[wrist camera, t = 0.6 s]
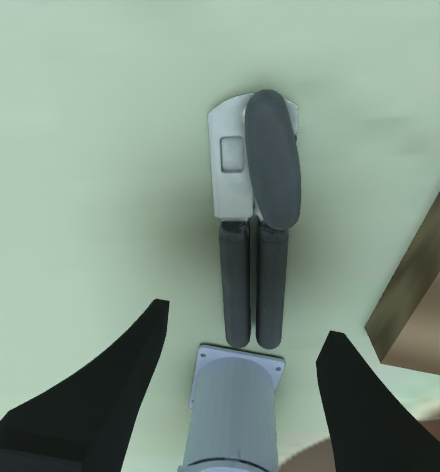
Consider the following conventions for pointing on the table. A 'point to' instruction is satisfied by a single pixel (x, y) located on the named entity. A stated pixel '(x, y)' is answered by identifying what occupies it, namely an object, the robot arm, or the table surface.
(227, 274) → the can opener
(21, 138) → the table surface
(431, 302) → the walnut block
